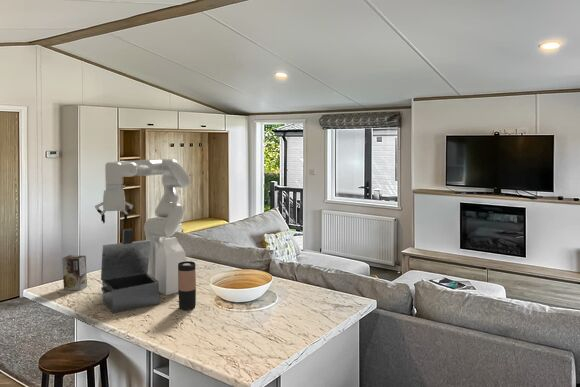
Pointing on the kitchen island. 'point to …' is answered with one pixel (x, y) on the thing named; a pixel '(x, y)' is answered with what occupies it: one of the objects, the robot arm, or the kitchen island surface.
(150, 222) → the robot arm
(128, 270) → the lid
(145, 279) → the grey lidded box
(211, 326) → the kitchen island surface
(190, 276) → the travel mug
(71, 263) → the coffee box
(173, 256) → the milk
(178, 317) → the kitchen island surface
